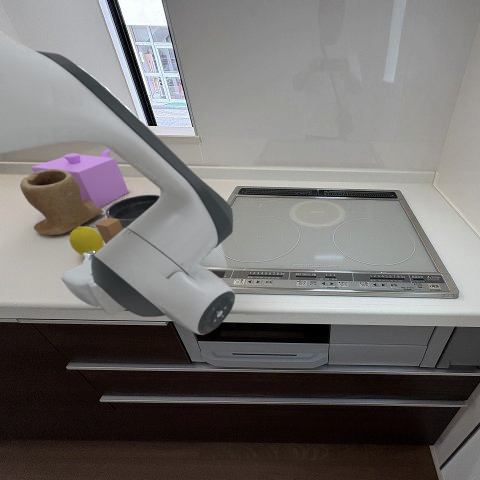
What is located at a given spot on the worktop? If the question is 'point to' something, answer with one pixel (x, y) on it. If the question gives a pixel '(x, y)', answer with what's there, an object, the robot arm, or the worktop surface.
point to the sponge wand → (109, 228)
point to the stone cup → (57, 201)
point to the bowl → (131, 208)
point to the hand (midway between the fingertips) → (117, 242)
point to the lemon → (85, 240)
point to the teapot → (91, 176)
